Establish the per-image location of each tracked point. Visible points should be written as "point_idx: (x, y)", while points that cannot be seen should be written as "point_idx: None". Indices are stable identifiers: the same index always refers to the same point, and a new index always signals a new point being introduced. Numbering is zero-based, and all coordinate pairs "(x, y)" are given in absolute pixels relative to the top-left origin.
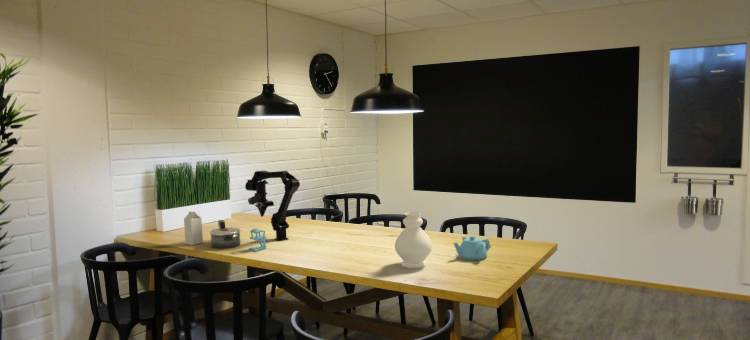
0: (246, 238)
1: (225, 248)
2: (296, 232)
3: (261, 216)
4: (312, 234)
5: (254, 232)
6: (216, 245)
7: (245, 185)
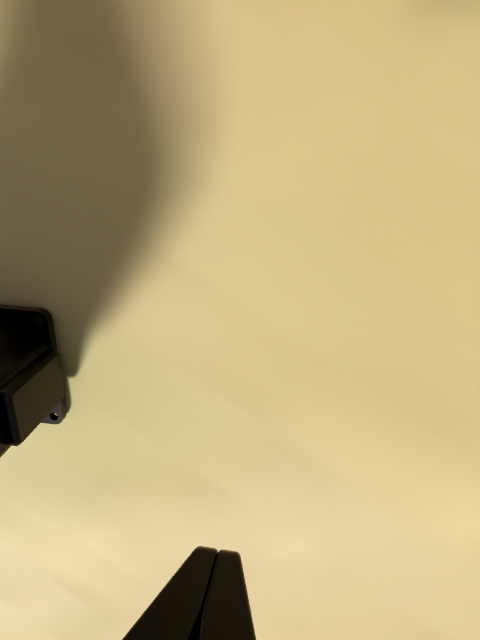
0: (443, 112)
1: None
2: None
3: (220, 550)
4: (17, 614)
5: None
6: None
7: None
